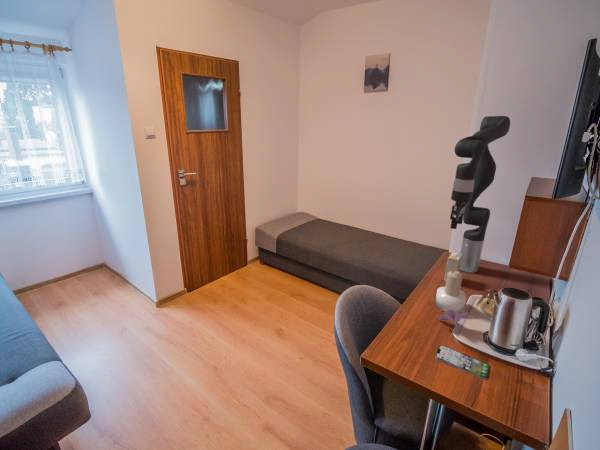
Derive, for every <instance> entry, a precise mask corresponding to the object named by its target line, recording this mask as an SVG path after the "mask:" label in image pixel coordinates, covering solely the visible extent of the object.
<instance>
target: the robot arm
mask: <svg viewBox="0 0 600 450" xmlns="http://www.w3.org/2000/svg"><path fill="white" fill-rule="evenodd" d="M510 128H511V119H510V117H508V116H507V115H494V116H493V115H490V116H484V117H483V118H482V120H481V123H480V127H479V130H478V131H476V132H475V133H474V134H473V135H470V136H467V137H463V138H461V139H460V140H459V141H457V142H456V144H455V147H454V154H455V155H456V156H457V157H458V158H464V159H465V158H466V159H471V160H470V161H469V162H466V163H465V162H464V163H460V164H458V165H457V167H456V170H455V171H456V172H455V178H454V181H453V184H452V186H453V187H452V191H451V198H450V199H451V200H452V201H453V202H454V204H453V205H452V206H451V213H450V217H449V220H451V221H450V229H451V230H452V229H454V230H456V229H457V226H458V225H462V224H463V223H464V224H465V225H467V226H468V225H469V226H476V228H472V229H467V230H465V231H464V232H463V236H462V240H461V241H462V242H461V246H460V252H459V254H462V257H461V263H460V268H459V271H463V272H466V273H471V274H472V273H477V272H478V271H479V270H478V269H479V265H480V261H481V256H482V252H483V246H484V242H485V237H486V231H487V229H488V228H487V227H488V224H489V221H490V217H491V210H490V209H489V208H487V207H480V206H475V205H474V204H475V202H476V201H477V199H478V198H479V197H480V196H481V195H482V194H483V192H486V190H487V189H488V188H489V187H490V186H491V185H492V184H493V182H494V180H495V176H496V170H497V164H496V162H495V159H494V158H493V156H492V153H491V151H490V148H489V144H491V143H492V142H494V141H496V140H499V139H500V138H503V137H505V136H506V135H507V134H508V133H509V131H510Z"/></svg>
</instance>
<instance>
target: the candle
mask: <svg viewBox="0 0 600 450" xmlns="http://www.w3.org/2000/svg"><path fill="white" fill-rule="evenodd" d="M463 277H464V276H463V274H462V273H461V272H460V271H459V272H458V271H456V270H452V271H450V272H448V273H447V279H446V282H445V293H446V294H447V295H449V296H453V297H456V296H459V293H460V290H461V288H462V287H461V286H462V282H463Z"/></svg>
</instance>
